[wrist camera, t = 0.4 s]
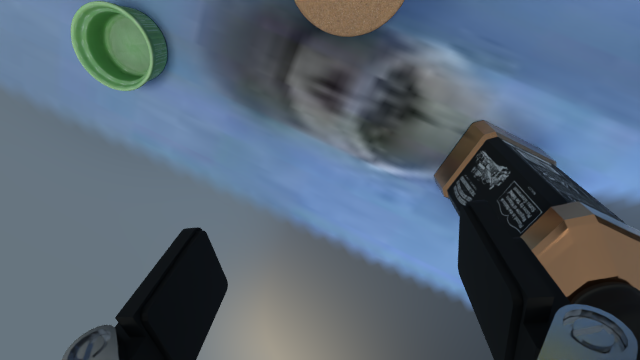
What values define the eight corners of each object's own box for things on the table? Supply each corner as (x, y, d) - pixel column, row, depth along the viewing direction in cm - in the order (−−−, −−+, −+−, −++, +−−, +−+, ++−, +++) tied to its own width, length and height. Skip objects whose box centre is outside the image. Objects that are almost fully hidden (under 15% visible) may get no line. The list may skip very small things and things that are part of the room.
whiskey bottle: (430, 180, 42) (582, 508, 14) (476, 116, 38) (834, 418, 10) (493, 209, 44) (745, 562, 16) (546, 151, 39) (1035, 505, 11)
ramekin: (164, 3, 35) (141, 3, 31) (179, 85, 39) (160, 93, 36) (89, 0, 36) (57, -1, 32) (111, 81, 40) (85, 88, 36)
